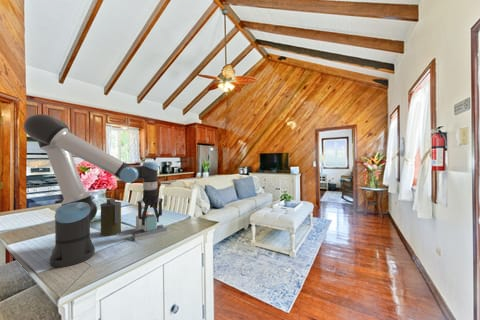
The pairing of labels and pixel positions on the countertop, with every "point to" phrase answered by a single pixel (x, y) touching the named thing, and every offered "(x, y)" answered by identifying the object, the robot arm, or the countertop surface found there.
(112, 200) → the canister
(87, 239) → the robot arm
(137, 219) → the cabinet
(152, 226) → the block
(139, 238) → the rail
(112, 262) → the countertop surface
